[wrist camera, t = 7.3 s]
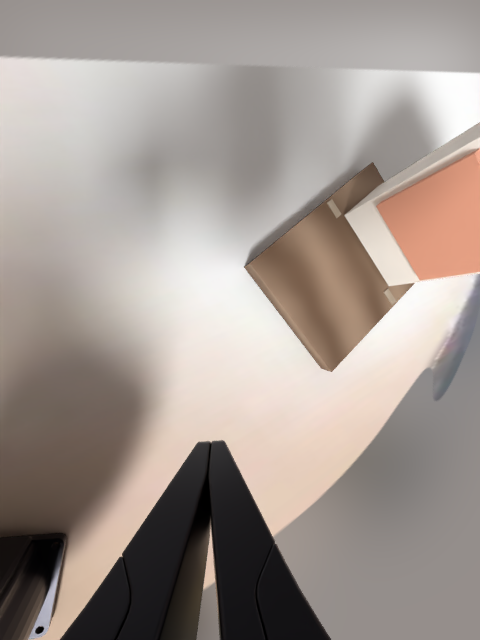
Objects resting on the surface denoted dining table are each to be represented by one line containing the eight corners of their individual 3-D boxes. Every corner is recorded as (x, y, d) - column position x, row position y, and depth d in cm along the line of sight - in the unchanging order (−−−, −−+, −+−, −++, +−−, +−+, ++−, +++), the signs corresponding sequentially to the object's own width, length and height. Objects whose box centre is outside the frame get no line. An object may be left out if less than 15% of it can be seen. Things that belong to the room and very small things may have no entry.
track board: (321, 368, 23) (332, 372, 21) (244, 267, 21) (250, 263, 19) (417, 267, 26) (432, 264, 25) (360, 171, 24) (373, 161, 22)
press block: (385, 290, 23) (573, 266, 12) (339, 218, 21) (511, 121, 11) (418, 255, 24) (616, 206, 13) (378, 185, 22) (566, 68, 12)
